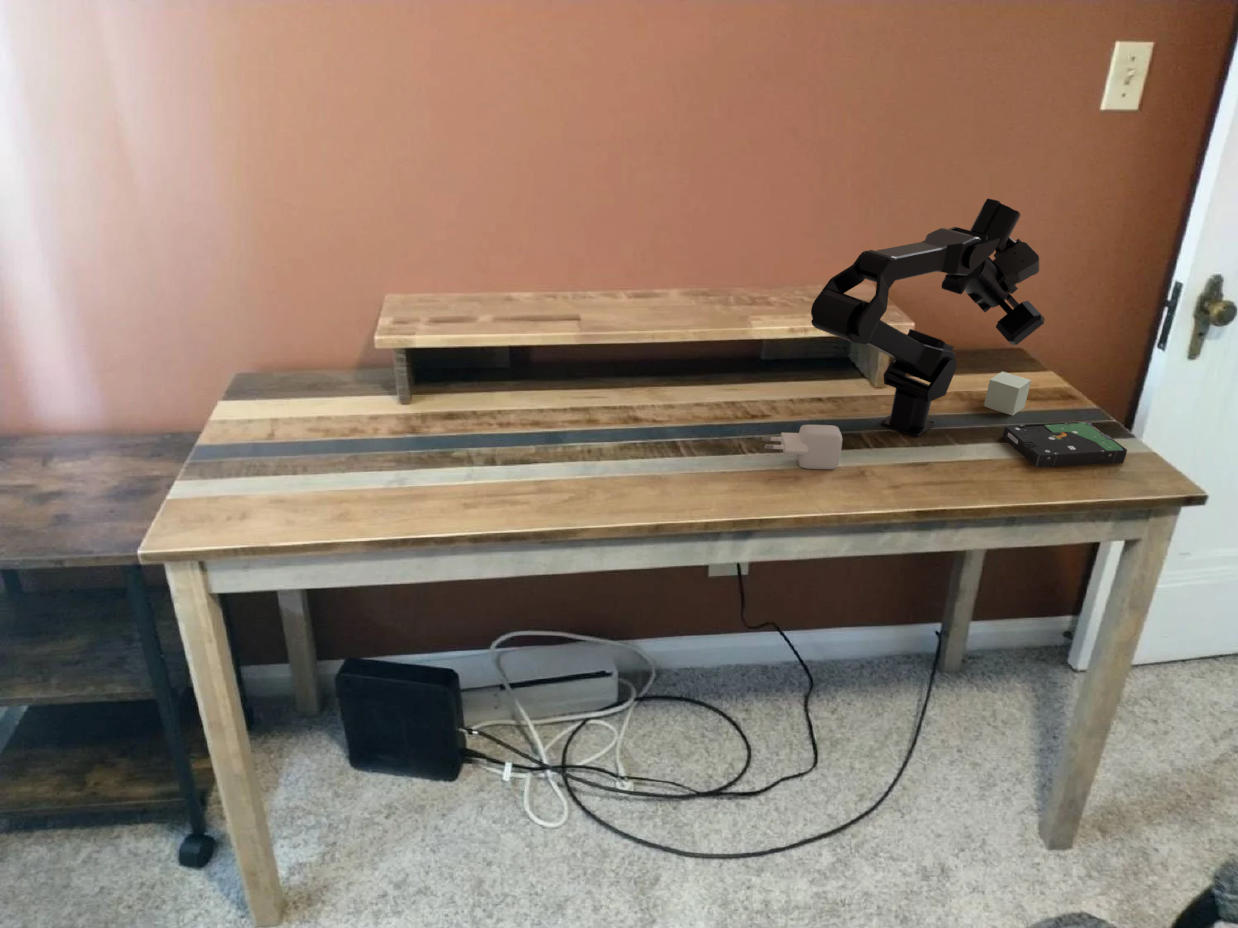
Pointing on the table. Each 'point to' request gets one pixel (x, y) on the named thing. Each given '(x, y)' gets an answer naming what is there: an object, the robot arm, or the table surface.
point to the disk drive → (1063, 444)
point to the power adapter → (811, 446)
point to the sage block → (1007, 393)
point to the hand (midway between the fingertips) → (1010, 311)
